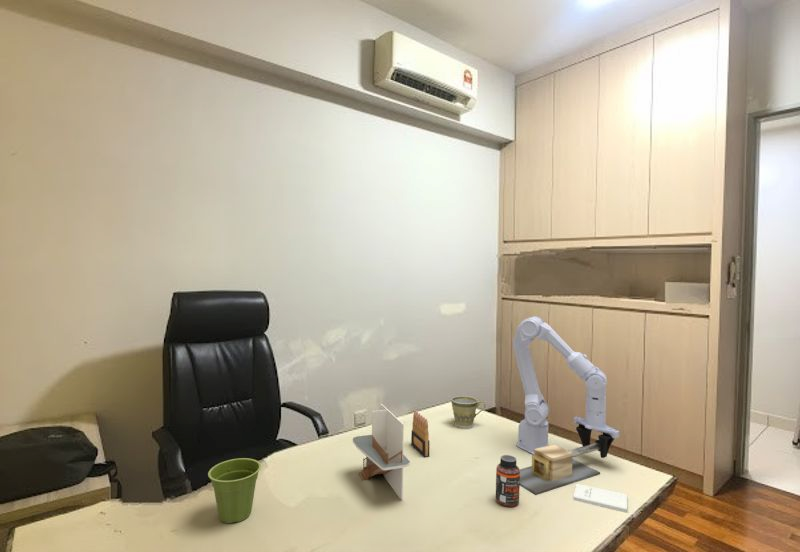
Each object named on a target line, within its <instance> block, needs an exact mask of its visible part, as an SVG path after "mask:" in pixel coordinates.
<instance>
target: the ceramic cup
mask: <svg viewBox="0 0 800 552" xmlns="http://www.w3.org/2000/svg"><path fill="white" fill-rule="evenodd" d="M478 401H479V400H478V399H477V398H475V397H473V396H469V395H458V396H453V397H451V407H452V411H453V417H454V425H455V427H457V428H459V429H465V430H466V429H471V428H473V425H474V422H475V419H476V416H478V415H479V414H480V413H481V412H483V411H484V410H485V409H486V404H485V403H484V402H482V401H480V402H478ZM480 405H483V406H484V407H483V408H482V409H480V410H479V411H478V412H476V410H477V409H478V407H479V406H480Z"/></svg>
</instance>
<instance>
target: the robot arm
mask: <svg viewBox="0 0 800 552" xmlns="http://www.w3.org/2000/svg"><path fill="white" fill-rule="evenodd" d="M535 338H537V340H541V341H545V342H548V343H549V344H550V345H551V346H552V347H553V348H554V349H556V351H558V352H559V353H560V354H561V355H562V356H563V357H564V358H565V359H566V366H567V367H568V368H570V370H572V371H573V372H574V373H575V374H576V375H577V376H578V378H579V379H581V381H584V384H585V387H586V395H585V418H583V417H579V416H575V417H573V424H574V425H578V426H577V427H575V431H576V432H577V434H578V436H579V437H580V438H579V439H580V442H581V445H582V446H586V445H590V444H591V435H592V431H596V432H598V433H602V434H599V435H597V438H598V440H599V442H600V451H599V453H600V455H599V456H600V458H601V459H604V458H607V457H608V454H609V449H610V448H611V445H612V443H613V442H614V440H615V439H618V438H620V430H617V429H615V428H614V427H611V426H610V425H607V424H606V422H607V396H606V395H607V390H606V389H607V383H608V378H607V375H606V374H605V372H604V371H602V369H601V370H600V368H599V367H598V366H595V365H594V364H593V363H592V362H591V361H590V360H589V359H588V356H587V355H586V354H585V353H582V352H580V351H579V352H578V351H574V350H573V349H572V348H571V347H570V346H569V344H567V343H566V342H565V341H564V339H563V338H562V337H560V335H559V334H558V333H557V332H556V331H555V330H554V329H553V328H552V327H551V326H550V325H549V323H547V322H544V320H543V319H542V318H541V317H539V316H536V315H534V316H530V317H528V318H525V319H523V320H522V321H521V322H520V323H519V325H517V326H516V332H515V335H514V338H513V341H512V347H513V351H514V356H515V359H516V364H517V367H518V371H519V376H520V379H521V384H522V387H523V392H524V397H525V398H524V408H525V410H524V419H522V420H521V421H520V422H519V424H518V429H517V430H518V433H517V434H518V437H517V439H518V440H517V443H516V445H515V446H517V447H518V448H520V449H522V450H524V451H526V452H528V453H529V454H531V455H533V454H534V449H537V448H541V447H545V446H549V421H548V419H547V417H548V416H549V414H550V406H549V405H548V403H547V402H546V399H545V398H544V395H543V394H542V393H541V389H540V385H539V382H538V378H537V374H536V369H535V365H534V361H533V357H532V354H531V349H530V345H531V344H532V343H533V341H534V339H535Z"/></svg>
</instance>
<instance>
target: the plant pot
mask: <svg viewBox="0 0 800 552" xmlns="http://www.w3.org/2000/svg"><path fill="white" fill-rule="evenodd" d="M261 469H262V463H261V462H259V461H258V460H256V459H253V458H247V457H246V458H245V457H242V458H241V457H239V458H232V459H228V460H225V461H222V462H219V463H217V464H215V465H214V466H212V467H211V468H210V469H209V471H208V472H207V476H208V478H209V479H210V481H211V486H212V487H213V492H214V497H215V502H216V507H217V513H218V518H219V520H220V521H221V522H223V523H226V524H233V523H235V522H238V523H240V522H241V521H244V520H246V519H247V518H249V517H250V515H251V514H252V511H253V505H254V497H255V490H256V483H257V480H258V476H259V472H260V470H261Z"/></svg>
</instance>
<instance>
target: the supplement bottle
mask: <svg viewBox="0 0 800 552" xmlns="http://www.w3.org/2000/svg"><path fill="white" fill-rule="evenodd" d="M499 461H500V463H498V464H497V465H496V471H495V473H496V475H495V500H496V502H497V503H499V504H500V505H501V506H504V507H511V508H512V507H515V506H518V505H519V503H520V487H521V486H520V468H519V466H518V464H517V458H516V457H515V456H513V455H509V454H504V455H501V456H500V460H499Z"/></svg>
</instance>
